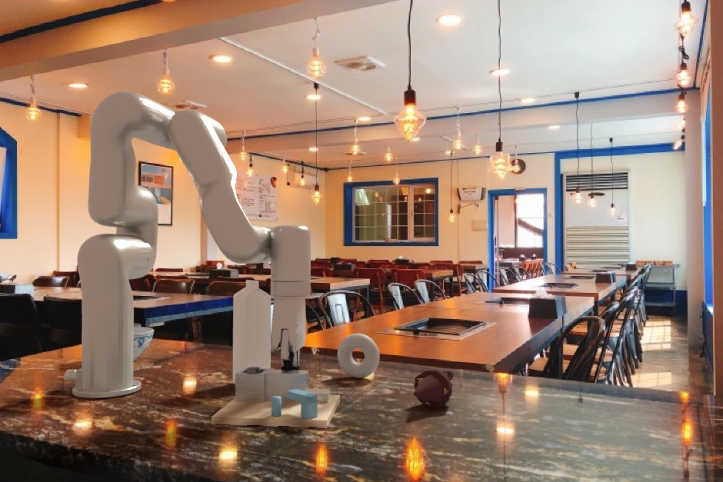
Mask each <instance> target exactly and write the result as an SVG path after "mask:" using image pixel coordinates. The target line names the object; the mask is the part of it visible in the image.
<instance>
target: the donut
mask: <svg viewBox="0 0 723 482" xmlns="http://www.w3.org/2000/svg"><path fill="white" fill-rule="evenodd" d="M355 349H359V350H360V351H362V352H363V355H364V359H363V361H361V362H357V361H356V360H355V359H354V357H353V352H354V350H355ZM380 355H381V354H380V349H379V347H378V346H377V343H376V342H375V341H374V340H373V338H371V337H370V336H369V335H366V334H363V333H351V334H349V335H348V336H347V335H346V336H345V337H344V339H342V341H340V344H339V346H338V349H337V354H336V357H337V361H338V364H339V366H340V368H341V369H342V370H343V372H344V373H345V374H346V375H348V376H349V377H351V378H355V379H363V378H364V379H365V378H368V377H369V376H371V375H372V374H374V372H375V371H376V370H377V369H378V366H379V364H380V357H381V356H380Z"/></svg>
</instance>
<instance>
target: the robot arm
mask: <svg viewBox="0 0 723 482" xmlns="http://www.w3.org/2000/svg"><path fill="white" fill-rule="evenodd" d="M93 111H94V112H93V113H92V115H91V120H90V125H89V126H90V127H89V143H90V161H89V162H90V164H89V174H88V175H89V176H88V177H89V178H88V194H87V195H88V197H87V198H88V199H87V208H88V214H89V216H90V218H91V220H92V221H93V222H94V223H96V224H98V225H100V226H103V227H109V228H110V227H111V228H115V231H116V232H115V233H100V234H99V233H98V234H95V235H93V236H91V237H89V238H87V239H86V240H85V241H84V242H83V243H82V244H81V245H80V247H79V250H78V252H77V257H76V258H77V259H76V260H77V261H76V262H77V269H78V271H77V272H78V274H79V275H78V276H79V282H80V287H81V316H82V317H81V367H80V368H79V369H67V370H66V371H65V373H64V376H63V380H64V381H69V382H72V381H74V382H75V386H73V387H72V391H71V393H72V395H73V396H75V397H78V398H85V399H104V398H115V397H121V396H126V395H129V394H132V393H135V392H138V391H139V390H140V389H141V388H142V382H141V381H140V380H138V379H135V378H134V362H133V337H134V327H135V326H134V322H135V321H134V320H135V319H134V317H135V314H134V313H135V312H134V311H135V309H134V308H135V306H134V305H135V303H134V295H133V294H134V293H133V290H132V286H131V284H130V280H135V279H136V280H137V279H141V278H143V277H145V276H147V275H148V274H149V273H150V272H151V271H152V270H153V268H154V266H155V263H156V259H157V253H158V252H157V249H158V234H159V233H158V232H159V207H158V206H159V205H158V203H157V199H156V197H155V195H154V194H153V193H152V192H151V191H150V190H149V189H147V188H146V187H144V186H142V185H139V184H136V183H137V182H136V169H137V160H136V159H137V158H136V153H135V150H134V148H133V143H132V140H133V139H134V138H135V139H137V140H141V141H144V142H146V143H150V144H151V145H154V146H158V147H160V148H161V147H162V148H165V149H168V150H172V151H176V153H177V155H178V157H179V158H180V160H181V162H182V164H183V165H184V167H185V168H186V171H187V173H188V174H189V176H190V178H191V180H192V182H193V184H194V186H195V188H196V190H197V192H198V202H199V205H200V206H199V207H200V210H201V216H202V219H203V221H204V224H205V226H206V228H207V230H208V231H209V233H210V235H211V237H212V239H213V240H214V242H215V244H216V245H217V247H218V249H219V250H220V252H221V253H222V255H223V256H224V257H225V258H226V259H227V260H229V261H230V262H232V263H235V264H240V265H241V264H242V265H245V264H246V265H247V264H262V263H269V262H270V295H271V300H273V306H272V313H271V353H272V352H273V353H276V352H278V351H279V350H280V364H281V365H280V367H281V369H280V370H300V369H301V368H300V355H301V354H300V353H301V351H300V350H301V349H302V348H303V347H304V345H305V343H306V337H307V336H306V330H307V325H306V323H307V321H306V320H307V317H306V315H307V313H306V312H307V311H306V299H311V296H312V295H311V293H312V292H311V288H312V287H311V279H312V278H311V277H312V276H311V272H312V271H311V268H312V266H311V265H312V264H311V262H312V261H311V259H312V258H311V256H312V255H311V254H312V252H311V251H312V246H311V245H312V242H311V241H312V239H311V238H312V237H311V235H312V233H311V230H310V228H309V227H307V226H305V225H299V224H298V225H295V224H294V225H293V224H292V225H291V224H289V225H288V224H285V225H277V226H275V227H274V226H267V225H266V226H265V225H260V224H254V223H251V222H250V220H249V218H248V217H247V215H246V213H245V212H244V210H243V208H242V206H241V203H240V201H239V200H238V196H237V193H236V189H235V187H236V183H237V180H238V177H239V172H238V169H237V168H236V166H235V164H234V162H233V160H232V159H231V157H230V155H229V154H228V152H227V150H226V147H227V144H228V137H227V133H226V131H225V128H224V127H223V125H222V124H221V123H220V122H219V121H217V120H215V119H214V118H212V117H211V116H209V115H206V114H205V113H203V112H201V111H199V110H196V109H189V108H188V109H187V108H186V109H181V110H177V109H174V108H170V107H167V106H166V105H164V104H162V103H159V102H158V101H155V100H154V99H152V98H149V97H148V96H145V95H143V94H141V93H138V92H135V91H130V90H120V91H117V92H113V93H111V94H109V95H107V96H105V97H104V98H103V100H101V101H100V102H99V103H98V105H97V106H96V107H95V109H94V110H93Z"/></svg>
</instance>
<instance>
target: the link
mask: <svg viewBox="0 0 723 482" xmlns="http://www.w3.org/2000/svg"><path fill="white" fill-rule="evenodd" d="M234 385H235V390H234V391H235V396H234V398H235V402H260V403H264V402H265V401H272V397H273V396H281V401H284V402H299V401H295V400H292V399H289V398H287V391H289V390H293V389H299V390H303V391H306V392H310V393H313V394H317V395H318V401H317V402H321V403H328V402H329V400H330V395H331V389H320V388H319V389H318V388H316V389H315V388H310V370H305V369H304V370H302V369H301V370H281V369H272V368H260V373H247V368H243V369H242V370H240V371H239V372H237V373H236V379H235V384H234Z"/></svg>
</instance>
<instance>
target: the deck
mask: <svg viewBox="0 0 723 482" xmlns="http://www.w3.org/2000/svg"><path fill="white" fill-rule="evenodd" d="M340 402H341V395H340V394H339V395H338V394H330V400H329V402H328V403H321V402H317V417H315V418H311V419H305V418H302V417H301V402H284V401H281V416H279V417H272V416H271V415H272V401H265V402H264V403H260V402H235V397H234V398H233V399H232V400H230V401H229V402H228V403H226V404H225V405H224V406H223V407H222V408H220V409H219V410H218V411H217V412H216V413H214V414H213V415H211V419H210V421H211V425H216V424H226V425H225V426H247V425H260V426H259V427H278V426H289V428H309V427H318V428H317V429H327V428H328V427H329V424H330V422H331V421H332V419H333V416H334V414H335V412H336V410H337V408H338V406H339V405H340ZM227 424H228V425H227ZM229 424H230V425H229ZM261 425H262V426H261ZM327 426H328V427H327Z"/></svg>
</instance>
